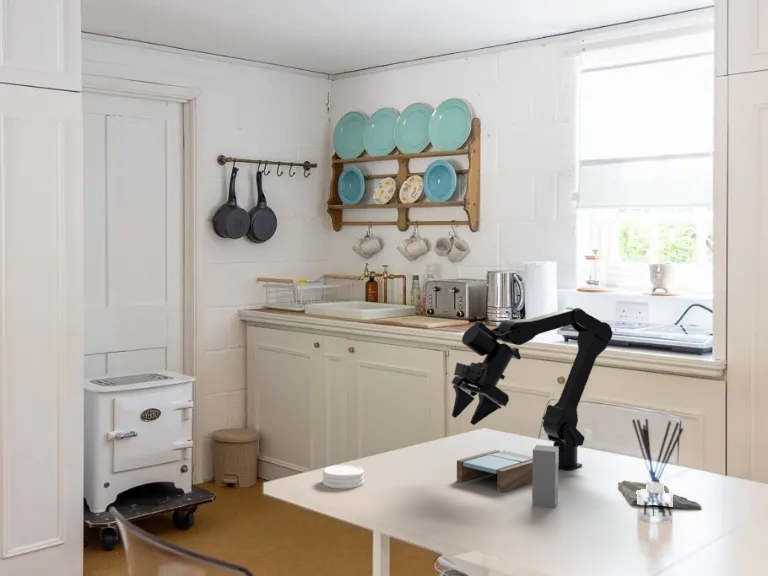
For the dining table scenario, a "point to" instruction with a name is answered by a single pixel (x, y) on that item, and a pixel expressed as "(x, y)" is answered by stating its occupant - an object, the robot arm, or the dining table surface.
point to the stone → (545, 476)
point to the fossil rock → (632, 487)
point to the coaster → (343, 476)
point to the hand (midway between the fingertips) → (462, 420)
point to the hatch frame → (499, 473)
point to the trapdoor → (496, 461)
